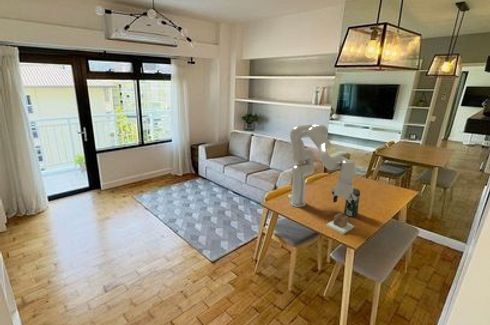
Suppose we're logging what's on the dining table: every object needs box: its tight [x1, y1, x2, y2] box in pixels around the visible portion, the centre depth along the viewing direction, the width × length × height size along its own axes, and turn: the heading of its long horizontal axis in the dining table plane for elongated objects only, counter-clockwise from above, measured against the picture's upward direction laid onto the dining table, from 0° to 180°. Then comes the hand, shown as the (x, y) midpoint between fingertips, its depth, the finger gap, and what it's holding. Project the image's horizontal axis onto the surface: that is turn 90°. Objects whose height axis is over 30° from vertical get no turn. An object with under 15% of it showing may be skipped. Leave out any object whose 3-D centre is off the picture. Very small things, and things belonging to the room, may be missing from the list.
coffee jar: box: [343, 187, 361, 217], centre depth 178 cm, size 10×8×19 cm
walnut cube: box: [333, 213, 349, 228], centre depth 164 cm, size 6×6×6 cm
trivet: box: [326, 219, 355, 235], centre depth 165 cm, size 12×12×2 cm
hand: (341, 204), depth 161 cm, fingers open, 9 cm apart
